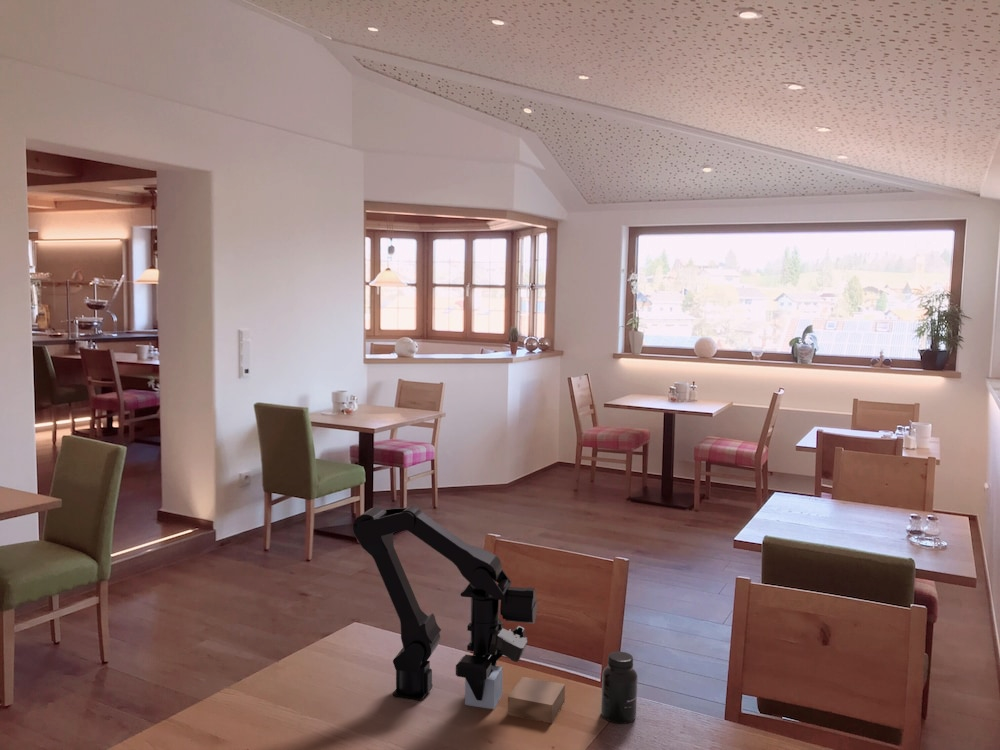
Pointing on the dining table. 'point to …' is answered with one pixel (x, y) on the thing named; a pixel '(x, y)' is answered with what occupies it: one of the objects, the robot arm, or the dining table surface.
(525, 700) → the tan flat square block
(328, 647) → the dining table surface
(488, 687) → the slate cube
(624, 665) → the supplement bottle
